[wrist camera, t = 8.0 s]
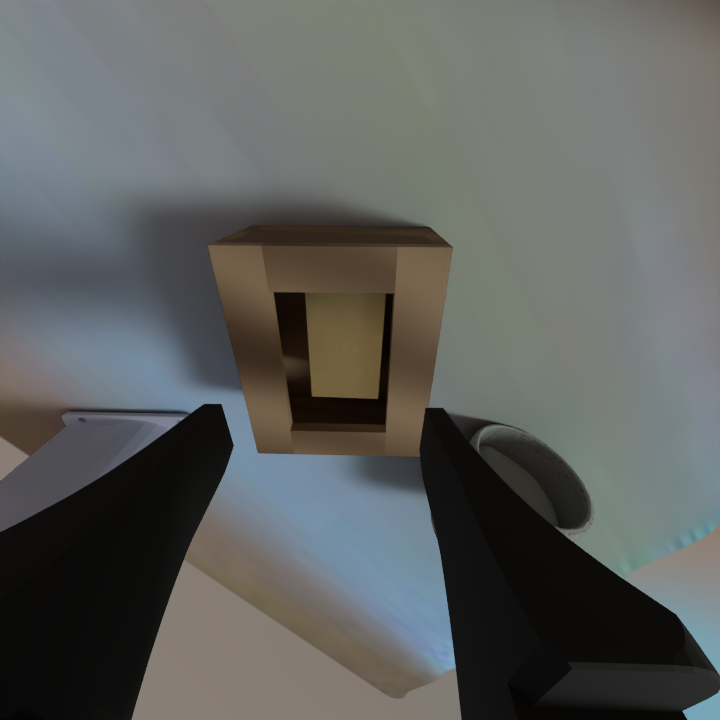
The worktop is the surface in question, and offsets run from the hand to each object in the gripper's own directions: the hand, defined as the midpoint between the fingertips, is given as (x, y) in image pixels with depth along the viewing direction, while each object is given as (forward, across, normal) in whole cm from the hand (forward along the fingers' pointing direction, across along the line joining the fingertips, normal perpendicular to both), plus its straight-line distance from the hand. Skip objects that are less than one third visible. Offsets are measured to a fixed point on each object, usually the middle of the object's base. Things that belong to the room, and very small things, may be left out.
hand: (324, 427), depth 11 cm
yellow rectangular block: (+8, 0, -1) cm, 8 cm away
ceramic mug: (+9, -12, +12) cm, 19 cm away
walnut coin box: (+9, 0, 0) cm, 9 cm away
